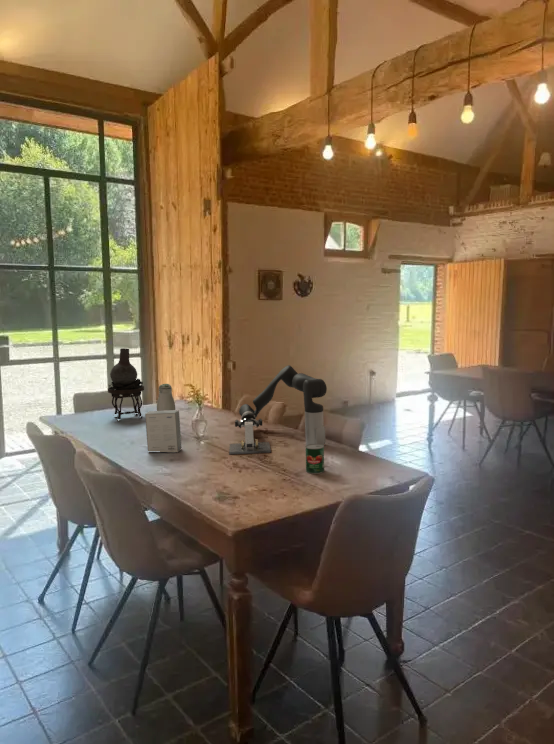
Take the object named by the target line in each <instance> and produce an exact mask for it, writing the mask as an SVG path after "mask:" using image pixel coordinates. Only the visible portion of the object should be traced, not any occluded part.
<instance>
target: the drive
mask: <svg viewBox="0 0 554 744" xmlns="http://www.w3.org/2000/svg"><path fill="white" fill-rule="evenodd" d="M254 440H255V438H254V426H253V422H245V427H244V441H245V442H244V443H245V446H246V449H248V448H254V443H255V441H254Z"/></svg>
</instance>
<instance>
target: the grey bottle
mask: <svg viewBox="0 0 554 744" xmlns="http://www.w3.org/2000/svg"><path fill="white" fill-rule="evenodd" d="M175 403H176V402H175V400H174V397H173V388H172V385H171V384H170V383H161V384H160V385H159V386H158V397H157V402H156V411H171V410H176V404H175Z"/></svg>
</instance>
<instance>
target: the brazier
mask: <svg viewBox="0 0 554 744" xmlns="http://www.w3.org/2000/svg"><path fill="white" fill-rule="evenodd" d="M109 375H110V376H109V377H110V380H111V381H112V382H110V384H109V385H108V388H107V393H109V394H110V395H111V398H112V399H111V404H112V406H113V408H114V414H118V415H117V419H118V418H120V419H121V417H122V415H131V414H135V413H138V417H140V416H141V415H142V413H141V407H142V405H143V399H142V396H141V395H142V392H143V391H145V386H144V385H143V384H144V381H143V380H141V379H140V378H138V371H137V369H136V367H135V366H134V365H132V363H131V361H130V348H120V349H119V360H118V362H117V363H116V364H115V365H113V366H112V368H111V370H110V374H109ZM125 398H131V400H132V404H133V409H134V410H132V411H124V412H122V404H123V400H124V399H125ZM134 398H135V399H134ZM118 399H121V400H120V404H119V407H118V403H117V401H118ZM139 400H140V401H139ZM135 401H136V403H135Z"/></svg>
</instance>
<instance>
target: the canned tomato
mask: <svg viewBox="0 0 554 744" xmlns="http://www.w3.org/2000/svg"><path fill="white" fill-rule="evenodd" d="M305 472H306V473H307V474H309V475H310V474H311V475H318V474H323V473H324V472H325V445H322V444H309V445H306V444H305Z"/></svg>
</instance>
